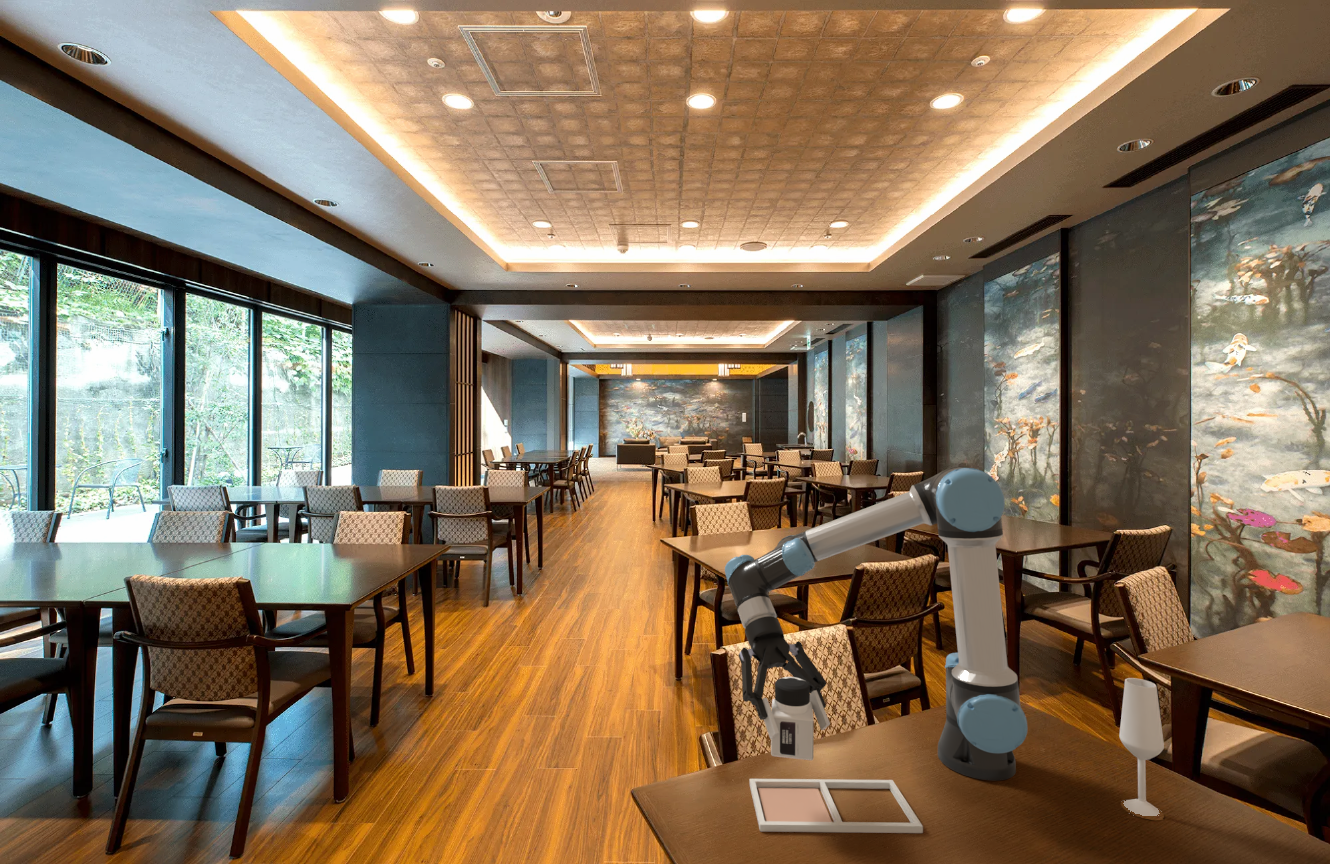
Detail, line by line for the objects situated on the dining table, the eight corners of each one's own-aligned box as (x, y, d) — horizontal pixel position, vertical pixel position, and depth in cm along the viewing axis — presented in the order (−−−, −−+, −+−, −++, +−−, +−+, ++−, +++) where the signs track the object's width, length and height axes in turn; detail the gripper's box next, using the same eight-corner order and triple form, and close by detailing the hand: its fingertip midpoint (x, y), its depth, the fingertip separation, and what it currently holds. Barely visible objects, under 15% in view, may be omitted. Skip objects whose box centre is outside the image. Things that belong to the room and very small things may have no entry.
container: (813, 761, 112) (813, 690, 112) (770, 756, 114) (771, 686, 114) (811, 741, 120) (812, 674, 120) (772, 737, 121) (772, 671, 122)
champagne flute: (1167, 825, 111) (1165, 692, 111) (1121, 813, 115) (1120, 684, 115) (1162, 806, 117) (1160, 680, 117) (1118, 795, 120) (1117, 673, 121)
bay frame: (892, 785, 124) (892, 779, 124) (922, 832, 109) (922, 826, 109) (749, 784, 124) (749, 778, 124) (760, 831, 109) (760, 824, 109)
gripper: (800, 627, 135) (843, 730, 120) (706, 637, 128) (739, 748, 113) (814, 609, 130) (860, 714, 115) (716, 619, 123) (752, 732, 108)
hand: (800, 731), depth 114 cm, fingers closed on container, 10 cm apart
